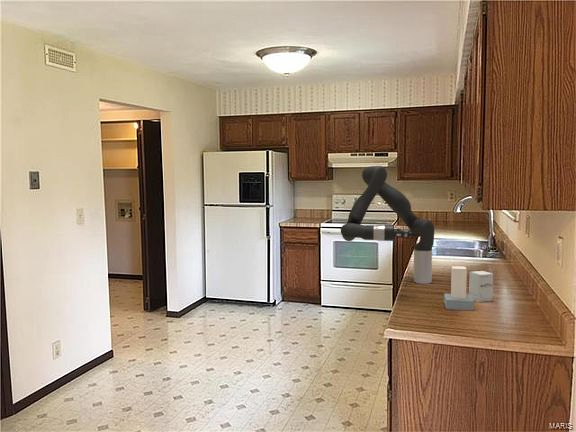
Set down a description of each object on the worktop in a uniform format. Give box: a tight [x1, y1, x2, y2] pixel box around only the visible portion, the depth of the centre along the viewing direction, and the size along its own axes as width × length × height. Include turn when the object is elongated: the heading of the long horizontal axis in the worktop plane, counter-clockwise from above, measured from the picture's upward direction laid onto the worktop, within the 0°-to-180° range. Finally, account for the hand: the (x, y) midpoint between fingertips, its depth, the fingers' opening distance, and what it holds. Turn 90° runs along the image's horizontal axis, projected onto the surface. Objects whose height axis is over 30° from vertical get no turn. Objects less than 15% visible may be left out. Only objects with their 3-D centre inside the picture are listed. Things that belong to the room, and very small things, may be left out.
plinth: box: [443, 293, 475, 311], centre depth 210 cm, size 11×11×4 cm
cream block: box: [450, 265, 468, 299], centre depth 209 cm, size 6×6×13 cm
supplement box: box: [468, 270, 494, 303], centre depth 219 cm, size 7×7×13 cm
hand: (419, 233), depth 223 cm, fingers open, 8 cm apart
